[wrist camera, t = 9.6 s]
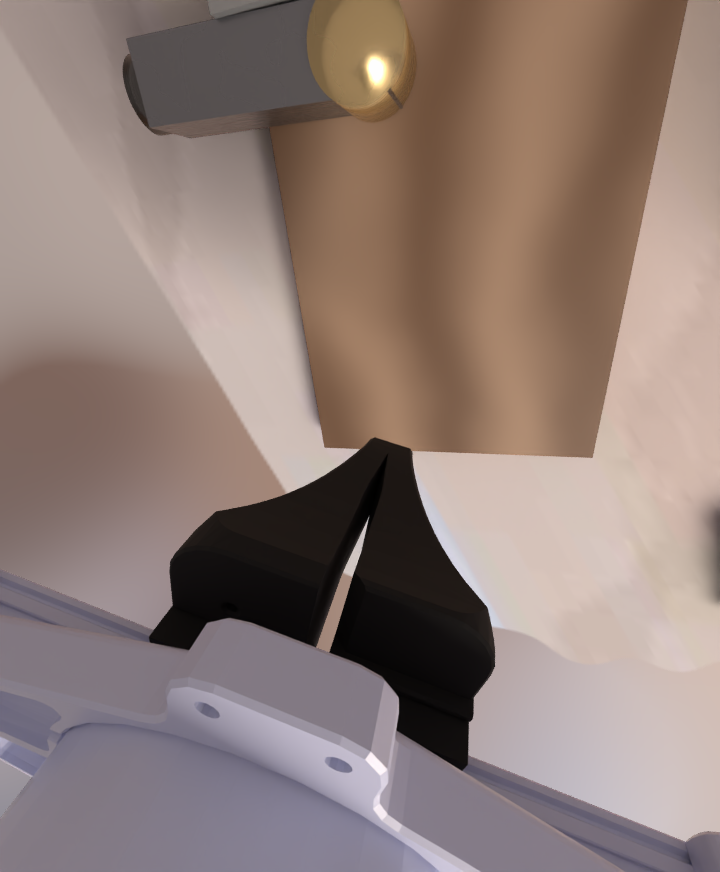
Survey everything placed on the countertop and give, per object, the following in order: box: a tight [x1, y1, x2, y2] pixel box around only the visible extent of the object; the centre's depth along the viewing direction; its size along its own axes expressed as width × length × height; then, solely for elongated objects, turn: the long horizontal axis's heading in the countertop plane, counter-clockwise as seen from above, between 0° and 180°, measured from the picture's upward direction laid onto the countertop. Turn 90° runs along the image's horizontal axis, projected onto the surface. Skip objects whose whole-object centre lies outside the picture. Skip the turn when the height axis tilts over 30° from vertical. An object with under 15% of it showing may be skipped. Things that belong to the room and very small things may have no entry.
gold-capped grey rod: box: [123, 0, 417, 138], centre depth 14 cm, size 10×3×3 cm, turn 94°
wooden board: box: [269, 0, 688, 458], centre depth 16 cm, size 14×24×2 cm, turn 6°
